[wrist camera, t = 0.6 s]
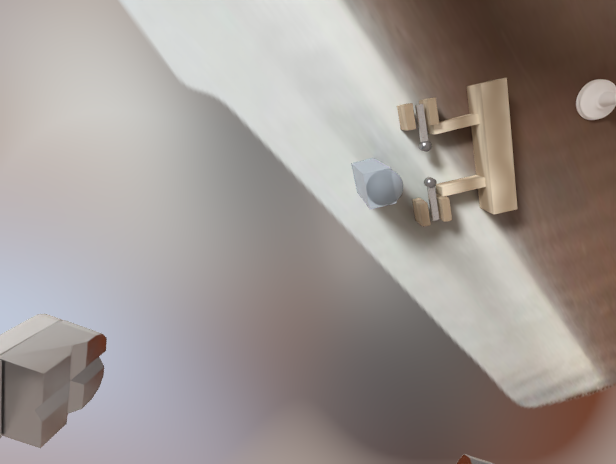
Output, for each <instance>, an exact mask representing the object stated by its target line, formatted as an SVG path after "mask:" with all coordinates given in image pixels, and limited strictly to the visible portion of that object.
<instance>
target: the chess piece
mask: <svg viewBox="0 0 616 464" xmlns="http://www.w3.org/2000/svg"><path fill="white" fill-rule="evenodd" d="M615 106H616V86H615V85H614V83H612V82H611V81H609V80H604V79H597V80H593V81H590V82H589V83H587V84H586V85H585V86H584V87H583V88H582V89H581V90H580V92H579V94H578V96H577V100H576V108H577V111H578V113H579V114H580V116H581V117H583V118H584V119H587V120H596V119H601V118H603V117H605V116H607V115H608V114H610V113H611V112H612V110H613V109H614V108H615Z"/></svg>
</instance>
